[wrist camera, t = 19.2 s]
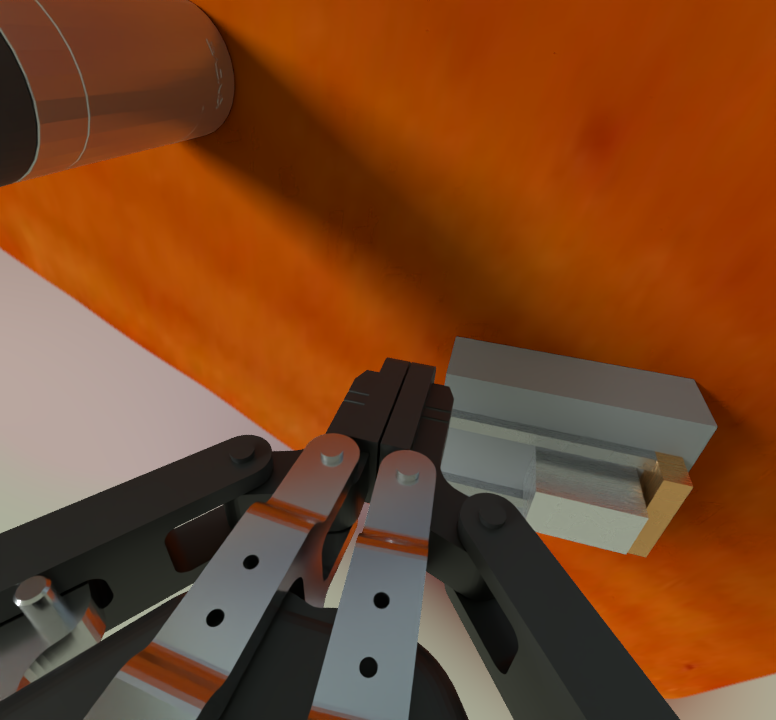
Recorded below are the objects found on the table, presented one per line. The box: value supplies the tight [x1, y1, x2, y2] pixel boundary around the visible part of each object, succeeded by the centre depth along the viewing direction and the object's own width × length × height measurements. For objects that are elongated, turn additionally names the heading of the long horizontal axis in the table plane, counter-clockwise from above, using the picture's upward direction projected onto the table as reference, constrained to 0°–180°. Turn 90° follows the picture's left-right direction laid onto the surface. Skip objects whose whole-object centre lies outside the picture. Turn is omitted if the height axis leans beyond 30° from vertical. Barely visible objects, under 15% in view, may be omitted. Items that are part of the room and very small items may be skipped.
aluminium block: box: [523, 446, 649, 554], centre depth 37 cm, size 8×5×5 cm, turn 84°
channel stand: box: [441, 336, 718, 557], centre depth 40 cm, size 20×16×9 cm
